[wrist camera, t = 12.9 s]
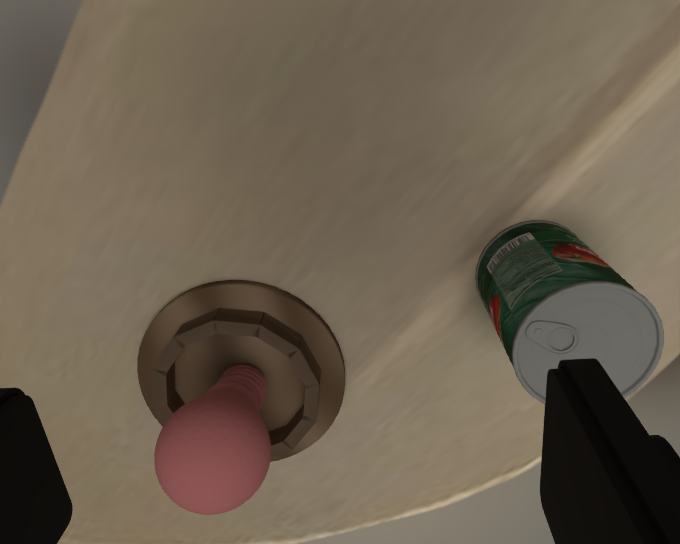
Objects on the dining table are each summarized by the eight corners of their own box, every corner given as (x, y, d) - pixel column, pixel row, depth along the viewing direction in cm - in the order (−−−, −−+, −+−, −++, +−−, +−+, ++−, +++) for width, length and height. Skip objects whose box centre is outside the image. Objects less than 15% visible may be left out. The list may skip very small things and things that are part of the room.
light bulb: (175, 365, 43) (110, 478, 32) (250, 321, 41) (209, 424, 30) (232, 430, 45) (189, 557, 34) (305, 391, 43) (285, 511, 32)
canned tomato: (608, 242, 39) (696, 312, 29) (554, 335, 42) (616, 429, 32) (504, 203, 38) (557, 261, 28) (456, 301, 41) (487, 386, 31)
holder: (287, 246, 40) (281, 262, 37) (377, 417, 45) (378, 441, 42) (102, 328, 43) (84, 347, 40) (207, 478, 48) (197, 505, 45)
